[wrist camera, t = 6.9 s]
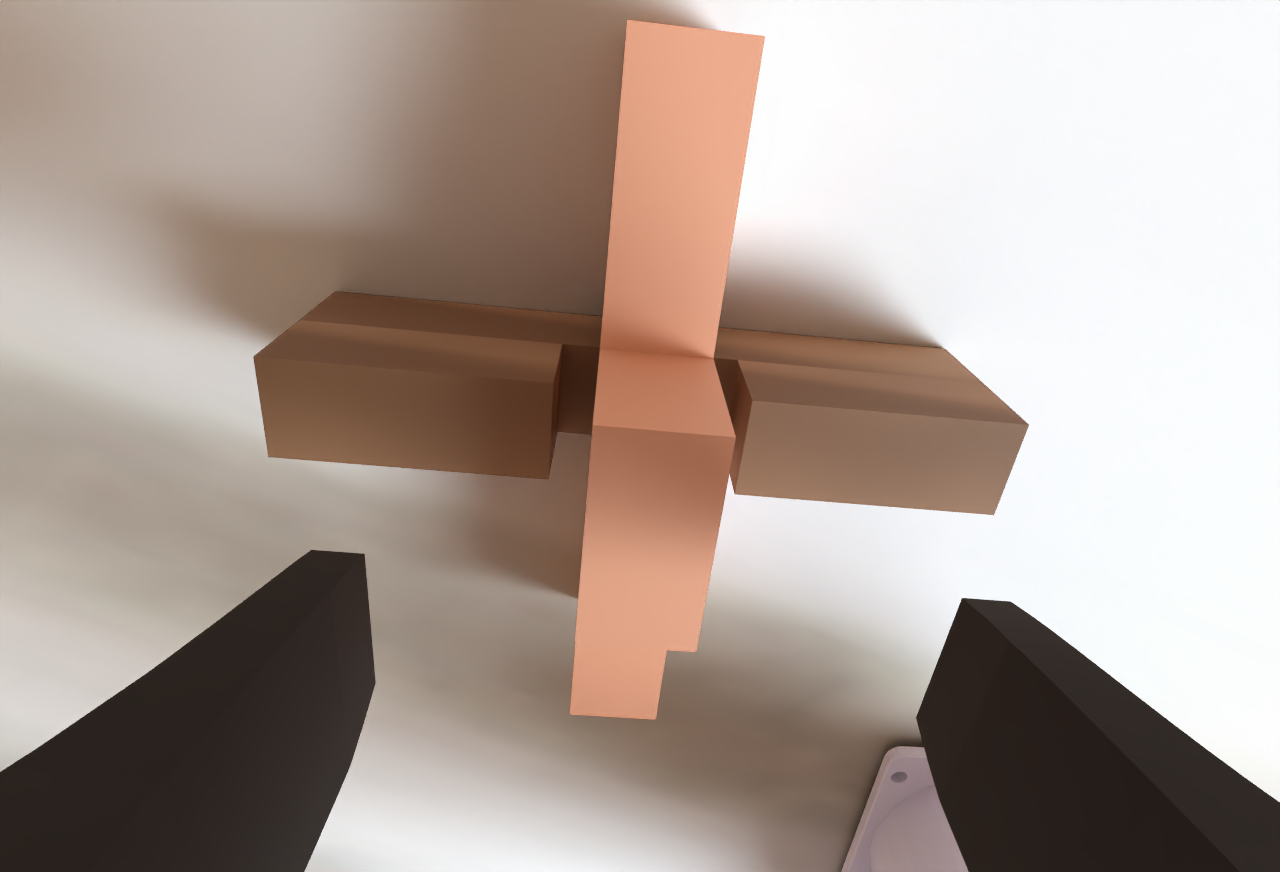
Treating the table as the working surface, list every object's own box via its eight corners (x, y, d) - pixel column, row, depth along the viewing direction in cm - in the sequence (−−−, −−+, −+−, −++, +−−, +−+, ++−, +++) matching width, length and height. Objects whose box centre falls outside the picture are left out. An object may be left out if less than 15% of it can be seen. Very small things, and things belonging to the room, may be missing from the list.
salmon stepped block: (651, 605, 20) (660, 843, 14) (579, 600, 20) (558, 837, 14) (729, 42, 14) (811, 28, 8) (626, 29, 14) (627, 5, 8)
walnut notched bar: (921, 424, 18) (994, 514, 14) (343, 374, 17) (268, 456, 14) (945, 348, 17) (1028, 424, 13) (335, 291, 16) (253, 356, 13)
